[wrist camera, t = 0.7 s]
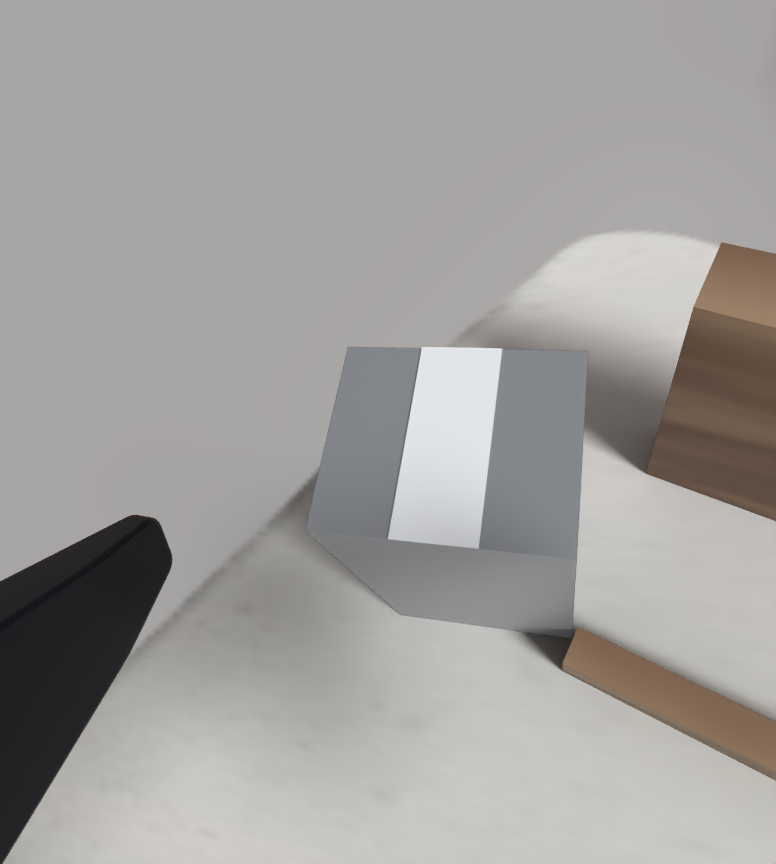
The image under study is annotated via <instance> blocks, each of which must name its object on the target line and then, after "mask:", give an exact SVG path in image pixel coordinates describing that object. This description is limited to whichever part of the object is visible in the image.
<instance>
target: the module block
mask: <svg viewBox="0 0 776 864" xmlns="http://www.w3.org/2000/svg"><path fill="white" fill-rule="evenodd" d="M587 363H588V351H569V350H508V349H502V348H453V347H422V348H385V347H348V349H347V353H346V357H345V361H344V366H343V370H342V374H341V379H340V383H339V387H338V391H337V396H336V400H335V404H334V409H333V413H332V417H331V421H330V426H329V430H328V434H327V439H326V443H325V447H324V451H323V456H322V460H321V464H320V468H319V473H318V477H317V481H316V485H315V490H314V494H313V498H312V503H311V507H310V511H309V515H308V520H307V524H306V528H305V531H306V532H307V533H308V534H309V535H310V536H312V537H313V538H314V539H315V540H316V541H317V542H318V543H320V544H321V545H322V546H323V547H324V548H325V549H326V550H327V551H329V552H330V553H331V554H332V555H333V556H334V557H335V558H337V559H338V560H339V561H340V562H341V563H342V564H343V565H344V566H346V567H347V568H348V569H349V570H350V571H351V572H352V573H354V574H355V575H356V576H357V577H358V578H359V579H360V580H361V581H363V582H364V583H365V584H366V585H367V586H368V587H369V588H371V589H372V590H373V591H374V592H375V593H376V594H377V595H378V596H380V597H381V598H382V599H383V600H384V601H385V602H386V603H388V604H389V605H390V606H391V607H392V608H393V609H394V610H395V611H397V612H398V613H399V614H400V615H405V616H412V617H419V618H427V619H434V620H441V621H448V622H455V623H462V624H470V625H477V626H484V627H491V628H498V629H505V630H512V631H520V632H527V633H534V634H541V635H548V636H555V637H563V638H570V639H572V626H573V611H574V595H575V580H576V564H577V547H578V528H579V510H580V491H581V473H582V455H583V436H584V418H585V400H586V381H587Z"/></svg>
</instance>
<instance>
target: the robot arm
mask: <svg viewBox="0 0 776 864" xmlns="http://www.w3.org/2000/svg"><path fill="white" fill-rule="evenodd" d="M171 566H172V554H171V551H170V548H169V546H168V543H167V540H166V538H165V535H164V533H163V530H162V527H161V525H160V523H159V522H158V521H157V520H156V519H154V518H151V517H145V516H139V515H132V516H128V517H126V518H124V519H122V520H120V521H118V522H116V523H114V524H112V525H110V526H108V527H106V528H104V529H103V530H100V531H99V532H97V533H95V534H93V535H91V536H89V537H87V538H85V539H83V540H81V541H79V542H77V543H75V544H73V545H71V546H69V547H67V548H65V549H63V550H61V551H59V552H57V553H55V554H53V555H51V556H49V557H47V558H45V559H43V560H41V561H39V562H37V563H36V564H34V565H32V566H30V567H28V568H26V569H24V570H22V571H20V572H18V573H16V574H14V575H12V576H10V577H8V578H6V579H4V580H2V581H0V864H3V862H4V861H5V859H6V857H7V856H8V854H9V852H10V851H11V849H12V847H13V846H14V844H15V842H16V841H17V839H18V837H19V836H20V834H21V833H22V831H23V829H24V828H25V826H26V824H27V823H28V821H29V819H30V818H31V816H32V814H33V813H34V811H35V809H36V808H37V806H38V805H39V803H40V801H41V800H42V798H43V796H44V795H45V793H46V791H47V790H48V788H49V786H50V785H51V783H52V781H53V780H54V778H55V776H56V775H57V773H58V772H59V770H60V768H61V767H62V765H63V763H64V762H65V760H66V758H67V757H68V755H69V753H70V752H71V750H72V748H73V747H74V745H75V744H76V742H77V740H78V739H79V737H80V735H81V734H82V732H83V730H84V729H85V727H86V725H87V724H88V722H89V720H90V719H91V717H92V716H93V714H94V712H95V711H96V709H97V707H98V706H99V704H100V702H101V701H102V699H103V697H104V696H105V694H106V692H107V691H108V689H109V688H110V686H111V684H112V683H113V681H114V679H115V678H116V676H117V674H118V673H119V671H120V669H121V668H122V666H123V664H124V663H125V661H126V659H127V657H128V656H129V654H130V652H131V650H132V648H133V646H134V644H135V642H136V640H137V638H138V636H139V634H140V632H141V630H142V628H143V626H144V623H145V621H146V619H147V617H148V615H149V613H150V611H151V609H152V607H153V605H154V603H155V601H156V598H157V597H158V595H159V592H160V590H161V588H162V586H163V584H164V582H165V580H166V578H167V576H168V574H169V572H170V569H171Z"/></svg>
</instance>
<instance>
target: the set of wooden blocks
mask: <svg viewBox="0 0 776 864" xmlns="http://www.w3.org/2000/svg"><path fill="white" fill-rule="evenodd" d="M646 473H647V474H649V475H652V476H655V477H658V478H660V479H663V480H666V481H668V482H671V483H674V484H677V485H679V486H682V487H685V488H688V489H690V490H693V491H696V492H699V493H701V494H704V495H707V496H710V497H712V498H715V499H718V500H721V501H723V502H726V503H729V504H732V505H734V506H737V507H740V508H743V509H745V510H748V511H751V512H754V513H756V514H759V515H762V516H764V517H767V518H770V519H773V520H775V521H776V254H773V253H769V252H764V251H759V250H755V249H750V248H745V247H740V246H736V245H730V244H726V243H721V245H720V247H719V250H718V252H717V254H716V257H715V259H714V261H713V263H712V266H711V268H710V270H709V273H708V275H707V277H706V280H705V282H704V284H703V287H702V289H701V291H700V293H699V296H698V298H697V300H696V303H695V305H694V307H693V311H692V314H691V318H690V321H689V325H688V328H687V332H686V335H685V339H684V342H683V346H682V349H681V353H680V356H679V360H678V363H677V367H676V370H675V374H674V377H673V381H672V384H671V388H670V391H669V395H668V398H667V402H666V405H665V409H664V412H663V416H662V419H661V423H660V426H659V430H658V433H657V437H656V440H655V444H654V447H653V450H652V454H651V457H650V461H649V464H648V468H647V471H646ZM563 671H564V672H566V673H567V674H569V675H571V676H573V677H575V678H577V679H579V680H581V681H583V682H585V683H587V684H589V685H591V686H593V687H595V688H597V689H599V690H601V691H603V692H604V693H606V694H608V695H610V696H612V697H614V698H616V699H618V700H620V701H622V702H624V703H626V704H628V705H630V706H632V707H634V708H636V709H638V710H640V711H641V712H643V713H645V714H647V715H649V716H651V717H653V718H655V719H657V720H659V721H661V722H663V723H665V724H667V725H669V726H671V727H673V728H675V729H677V730H679V731H680V732H682V733H684V734H686V735H688V736H690V737H692V738H694V739H696V740H698V741H700V742H702V743H704V744H706V745H708V746H710V747H712V748H714V749H716V750H717V751H719V752H721V753H723V754H725V755H727V756H729V757H731V758H733V759H735V760H737V761H739V762H741V763H743V764H745V765H747V766H749V767H751V768H753V769H754V770H756V771H758V772H760V773H762V774H764V775H766V776H768V777H770V778H772V779H774V780H776V722H775V721H773V720H771V719H769V718H767V717H765V716H763V715H761V714H759V713H757V712H754V711H752V710H750V709H748V708H746V707H744V706H742V705H740V704H738V703H736V702H734V701H732V700H729V699H727V698H725V697H723V696H721V695H719V694H717V693H715V692H713V691H711V690H709V689H707V688H704V687H702V686H700V685H698V684H696V683H694V682H692V681H690V680H688V679H686V678H684V677H682V676H679V675H677V674H675V673H673V672H671V671H669V670H667V669H665V668H663V667H661V666H659V665H656V664H654V663H652V662H650V661H648V660H646V659H644V658H642V657H640V656H638V655H636V654H634V653H631V652H629V651H627V650H625V649H623V648H621V647H619V646H617V645H615V644H613V643H611V642H609V641H606V640H604V639H602V638H600V637H598V636H596V635H594V634H592V633H590V632H588V631H586V630H584V629H581V628H579V627H578V628H577V630H576V633H575V635H574V637H573V640H572V642H571V644H570V647H569V649H568V651H567V654H566V656H565V659H564V661H563Z"/></svg>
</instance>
